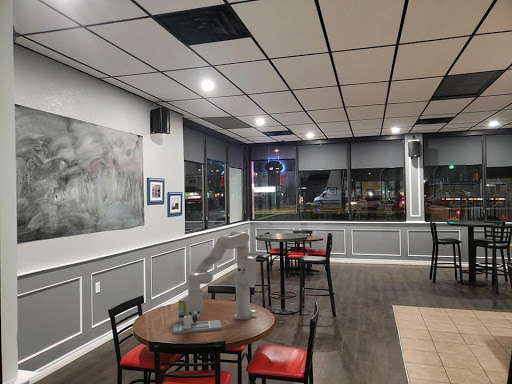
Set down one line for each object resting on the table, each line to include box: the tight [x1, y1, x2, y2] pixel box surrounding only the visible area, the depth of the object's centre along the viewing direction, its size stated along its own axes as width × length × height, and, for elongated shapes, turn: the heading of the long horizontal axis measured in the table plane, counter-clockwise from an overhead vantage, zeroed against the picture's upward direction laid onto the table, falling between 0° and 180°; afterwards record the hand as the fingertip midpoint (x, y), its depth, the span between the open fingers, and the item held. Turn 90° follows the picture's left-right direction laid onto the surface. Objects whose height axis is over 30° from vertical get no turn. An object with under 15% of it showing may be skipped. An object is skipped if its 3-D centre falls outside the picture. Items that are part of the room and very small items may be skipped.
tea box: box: [178, 295, 201, 323], centre depth 242 cm, size 15×10×15 cm, turn 168°
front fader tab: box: [184, 315, 191, 329], centre depth 220 cm, size 4×3×7 cm
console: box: [172, 319, 223, 335], centre depth 225 cm, size 30×14×2 cm, turn 101°
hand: (194, 322), depth 221 cm, fingers closed
